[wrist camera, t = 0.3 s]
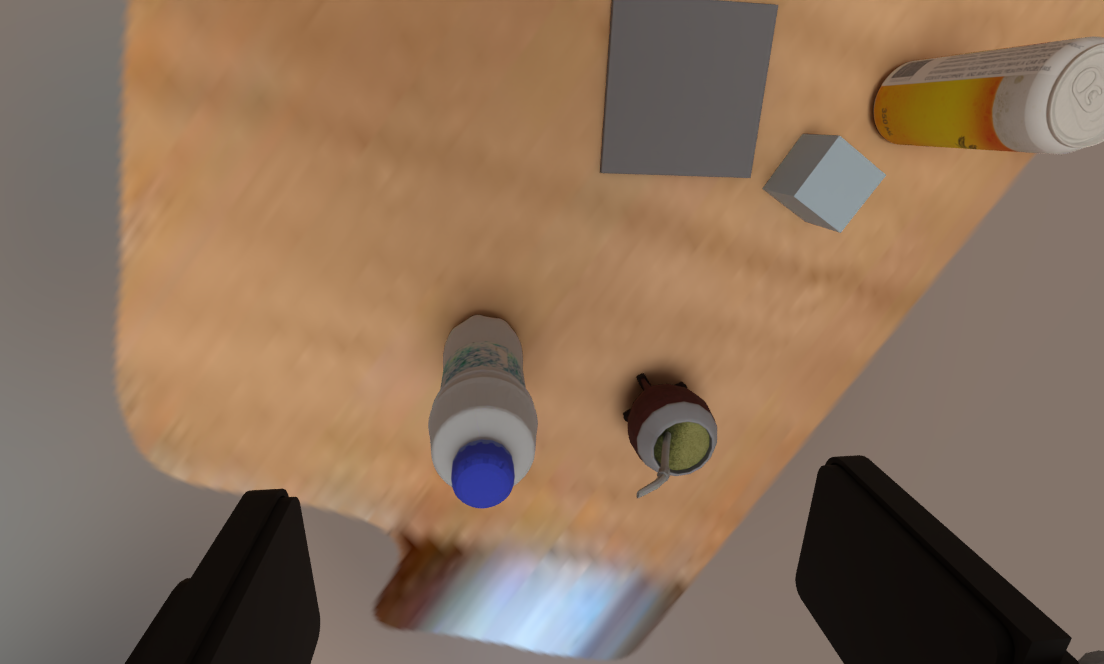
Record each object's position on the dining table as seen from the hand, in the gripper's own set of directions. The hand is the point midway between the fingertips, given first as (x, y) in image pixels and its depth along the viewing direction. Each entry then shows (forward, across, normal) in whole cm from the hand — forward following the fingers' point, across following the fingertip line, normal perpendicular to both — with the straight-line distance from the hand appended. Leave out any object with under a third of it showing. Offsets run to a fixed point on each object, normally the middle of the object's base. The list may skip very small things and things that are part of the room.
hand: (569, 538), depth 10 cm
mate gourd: (+36, -13, +17) cm, 42 cm away
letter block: (+36, -24, -3) cm, 44 cm away
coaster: (+36, -14, -9) cm, 40 cm away
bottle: (+36, +2, +11) cm, 38 cm away
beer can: (+36, -32, -9) cm, 49 cm away
